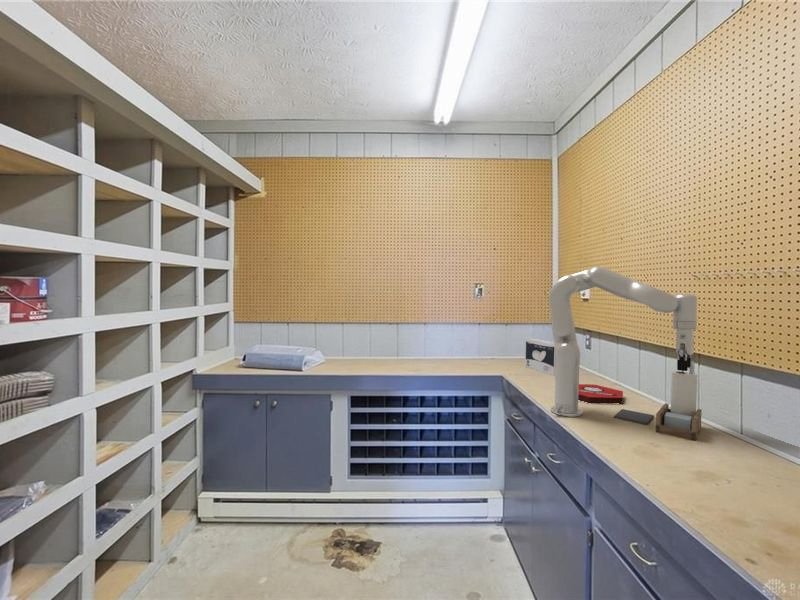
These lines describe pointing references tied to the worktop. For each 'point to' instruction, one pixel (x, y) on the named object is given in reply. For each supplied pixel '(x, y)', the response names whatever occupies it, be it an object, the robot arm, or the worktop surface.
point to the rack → (677, 431)
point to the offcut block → (678, 421)
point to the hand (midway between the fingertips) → (683, 368)
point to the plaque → (599, 394)
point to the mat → (634, 416)
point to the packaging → (540, 355)
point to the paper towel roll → (683, 393)
